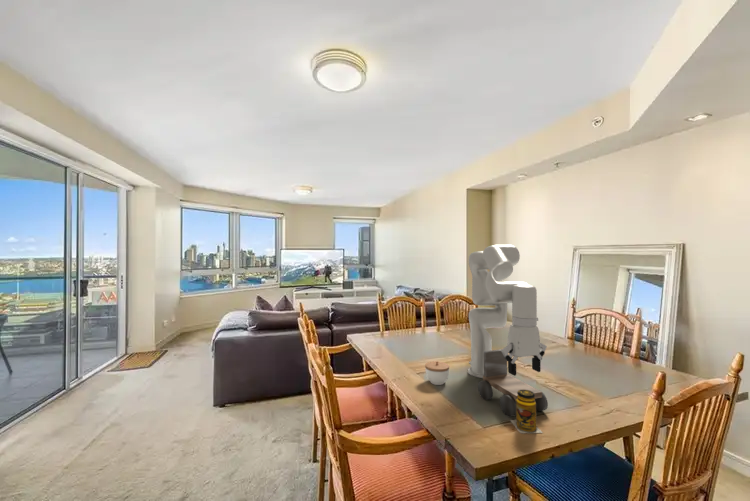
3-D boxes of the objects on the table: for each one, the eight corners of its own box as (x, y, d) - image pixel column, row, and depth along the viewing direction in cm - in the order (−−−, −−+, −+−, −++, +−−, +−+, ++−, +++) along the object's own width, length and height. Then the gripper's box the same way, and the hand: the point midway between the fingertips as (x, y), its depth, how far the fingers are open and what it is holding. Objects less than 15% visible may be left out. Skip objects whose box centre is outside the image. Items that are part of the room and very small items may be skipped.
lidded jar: (431, 388, 144) (431, 366, 144) (421, 379, 154) (421, 359, 154) (453, 385, 147) (453, 364, 147) (442, 376, 157) (442, 356, 157)
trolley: (478, 395, 136) (477, 351, 136) (509, 390, 140) (508, 348, 140) (512, 420, 116) (512, 368, 116) (547, 414, 120) (547, 364, 120)
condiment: (520, 433, 108) (520, 396, 108) (509, 420, 116) (509, 386, 116) (542, 433, 108) (542, 396, 108) (530, 420, 116) (530, 385, 116)
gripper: (537, 317, 118) (537, 365, 118) (495, 321, 113) (495, 371, 113) (554, 322, 111) (554, 373, 111) (510, 326, 106) (510, 379, 106)
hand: (524, 372), depth 112 cm, fingers open, 9 cm apart
